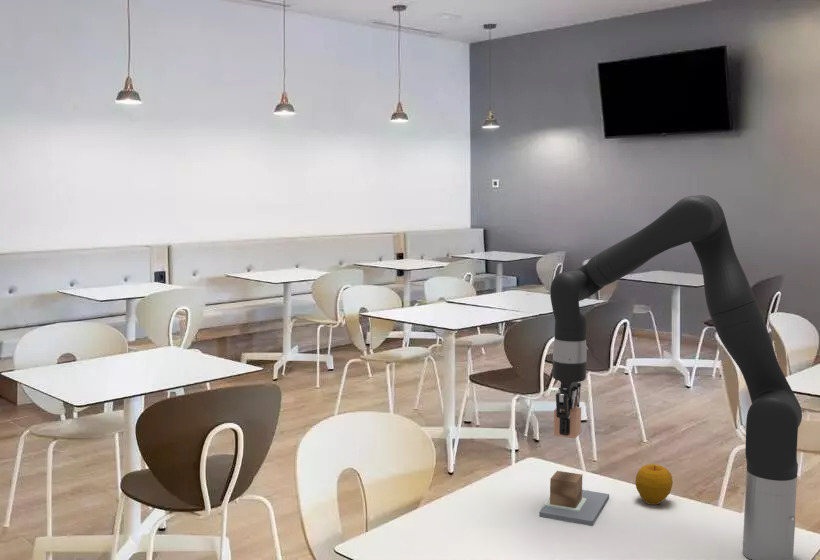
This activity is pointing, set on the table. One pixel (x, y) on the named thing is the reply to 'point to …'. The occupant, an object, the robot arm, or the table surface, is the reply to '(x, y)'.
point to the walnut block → (566, 489)
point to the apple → (653, 483)
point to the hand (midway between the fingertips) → (567, 431)
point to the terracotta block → (574, 423)
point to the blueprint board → (578, 509)
